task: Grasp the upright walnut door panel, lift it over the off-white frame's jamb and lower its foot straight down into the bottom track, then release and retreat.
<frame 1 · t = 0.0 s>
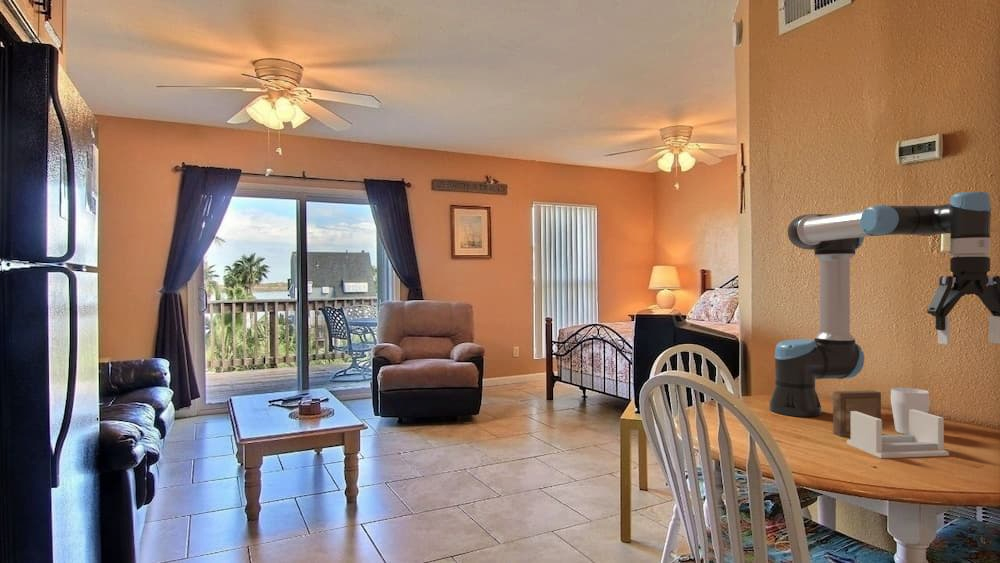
hand: (969, 343, 138), 28 cm above the table, fingers open, 13 cm apart
track frame: (895, 449, 145), on the table
cup: (909, 433, 161), on the table
door panel: (856, 434, 159), on the table
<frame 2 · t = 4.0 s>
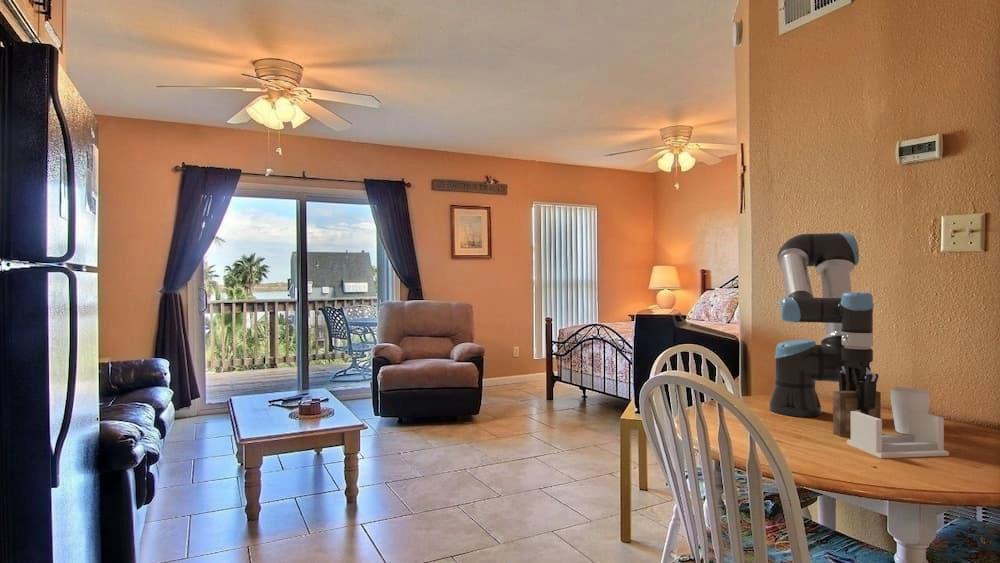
hand: (856, 430, 159), 1 cm above the table, fingers closed on door panel, 3 cm apart
door panel: (856, 434, 159), on the table, touching gripper
everything else where it was.
when the fingers open (4 cm above the table, at t = 8.1 s): door panel drops 2 cm, resting on track frame.
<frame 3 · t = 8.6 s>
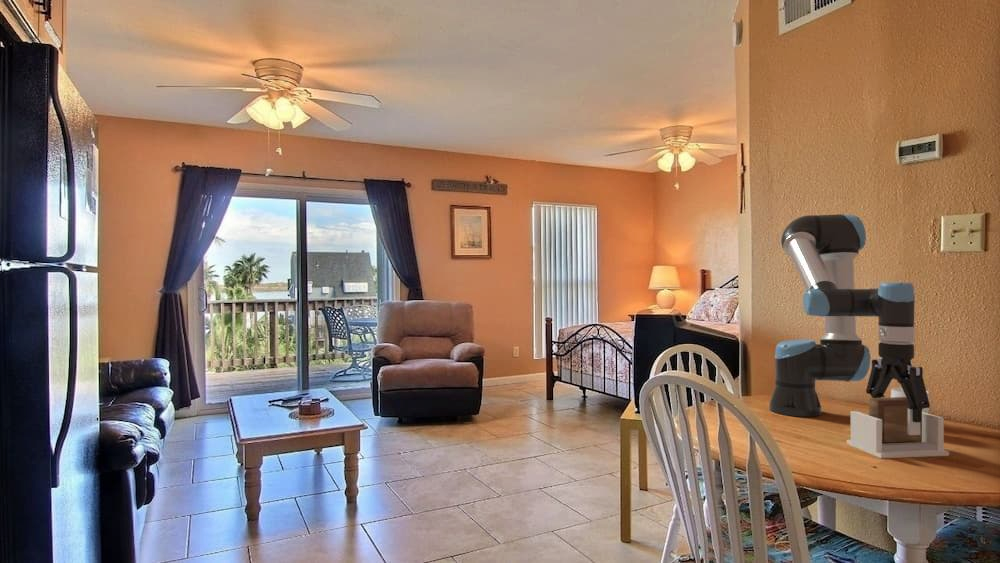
hand: (895, 428, 145), 5 cm above the table, fingers open, 10 cm apart
door panel: (895, 445, 145), point 1 cm above the table, touching track frame
everything else where it was.
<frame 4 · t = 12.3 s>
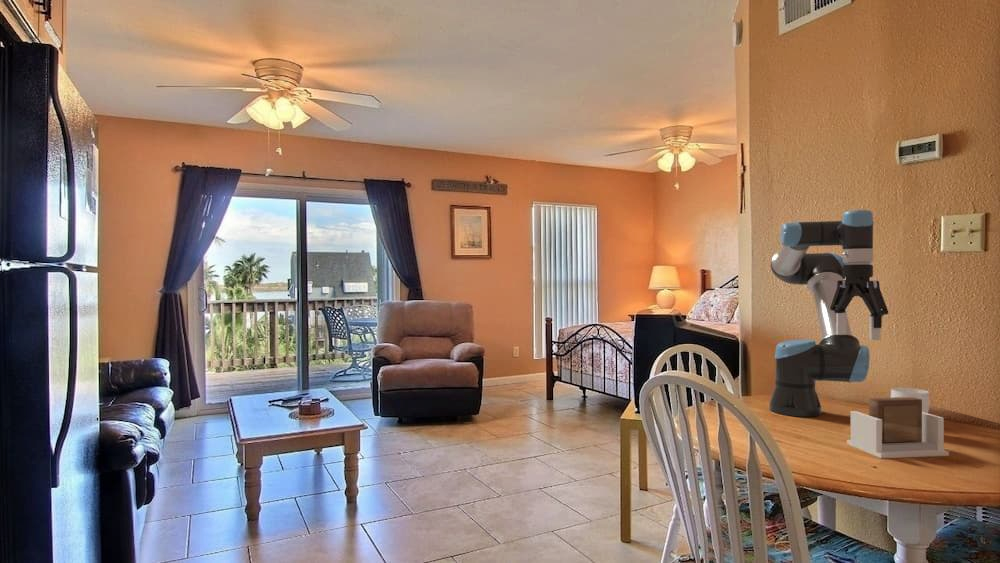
hand: (857, 337, 164), 27 cm above the table, fingers open, 13 cm apart
nothing on the table moved.
at the end: door panel 0.2 cm off-centre on the track frame, point 1.0 cm above the track frame's base; door panel tilted 0°; the gripper is holding nothing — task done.
